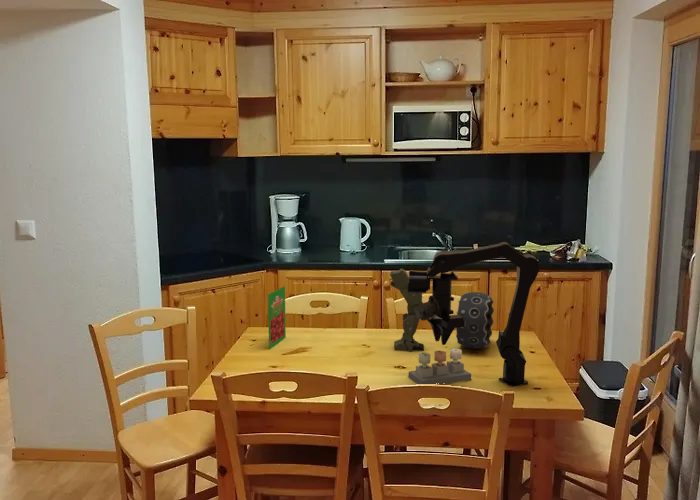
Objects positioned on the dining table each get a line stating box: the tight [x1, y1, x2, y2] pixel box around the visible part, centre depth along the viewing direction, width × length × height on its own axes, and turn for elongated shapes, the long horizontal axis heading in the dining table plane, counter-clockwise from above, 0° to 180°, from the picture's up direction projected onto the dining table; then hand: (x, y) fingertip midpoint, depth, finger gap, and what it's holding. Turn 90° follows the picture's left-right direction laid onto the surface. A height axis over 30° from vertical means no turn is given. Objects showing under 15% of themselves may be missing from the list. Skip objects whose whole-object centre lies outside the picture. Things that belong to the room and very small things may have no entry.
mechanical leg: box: [389, 268, 425, 352], centre depth 229 cm, size 14×7×30 cm, turn 84°
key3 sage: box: [418, 352, 431, 369], centre depth 198 cm, size 4×4×5 cm
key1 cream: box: [449, 348, 463, 364], centre depth 203 cm, size 4×4×5 cm
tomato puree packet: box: [267, 285, 287, 350], centre depth 235 cm, size 15×1×20 cm, turn 163°
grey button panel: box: [408, 360, 472, 385], centre depth 201 cm, size 9×17×4 cm, turn 112°
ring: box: [455, 291, 495, 350], centre depth 231 cm, size 11×20×20 cm, turn 160°
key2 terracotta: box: [433, 350, 447, 366], centre depth 200 cm, size 4×4×5 cm
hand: (440, 342), depth 200 cm, fingers open, 4 cm apart
